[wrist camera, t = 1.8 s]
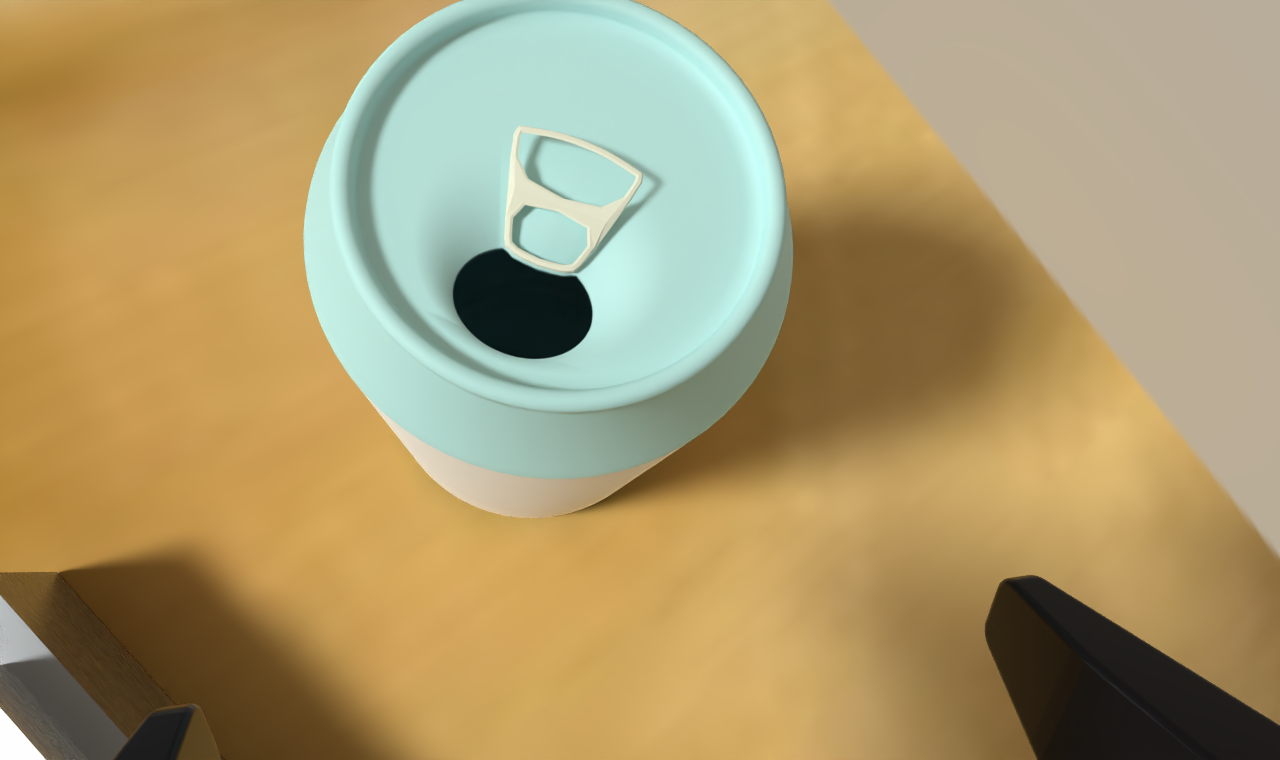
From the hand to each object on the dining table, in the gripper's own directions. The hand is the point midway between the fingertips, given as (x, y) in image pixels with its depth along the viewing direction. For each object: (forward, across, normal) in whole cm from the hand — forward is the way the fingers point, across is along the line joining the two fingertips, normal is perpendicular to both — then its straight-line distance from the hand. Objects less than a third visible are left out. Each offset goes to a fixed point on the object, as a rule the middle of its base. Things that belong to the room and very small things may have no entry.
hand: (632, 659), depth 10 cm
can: (+13, 0, +5) cm, 14 cm away
